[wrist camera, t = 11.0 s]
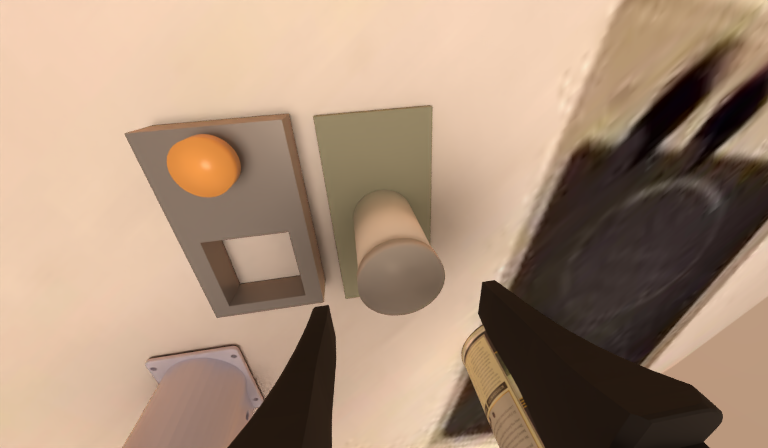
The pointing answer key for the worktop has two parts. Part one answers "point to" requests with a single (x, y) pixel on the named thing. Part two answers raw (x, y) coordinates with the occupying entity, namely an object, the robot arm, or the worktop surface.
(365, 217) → the cylinder
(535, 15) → the worktop surface
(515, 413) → the coffee can
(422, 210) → the mat
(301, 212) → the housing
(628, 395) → the robot arm
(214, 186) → the button
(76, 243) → the worktop surface
